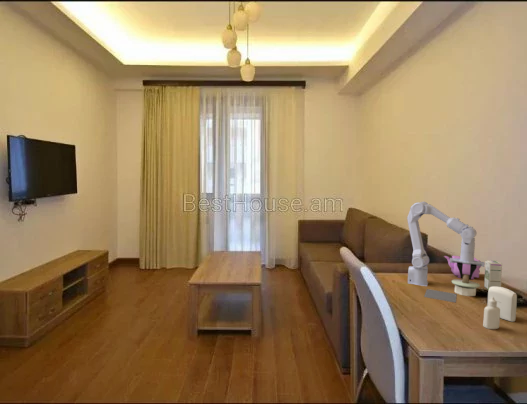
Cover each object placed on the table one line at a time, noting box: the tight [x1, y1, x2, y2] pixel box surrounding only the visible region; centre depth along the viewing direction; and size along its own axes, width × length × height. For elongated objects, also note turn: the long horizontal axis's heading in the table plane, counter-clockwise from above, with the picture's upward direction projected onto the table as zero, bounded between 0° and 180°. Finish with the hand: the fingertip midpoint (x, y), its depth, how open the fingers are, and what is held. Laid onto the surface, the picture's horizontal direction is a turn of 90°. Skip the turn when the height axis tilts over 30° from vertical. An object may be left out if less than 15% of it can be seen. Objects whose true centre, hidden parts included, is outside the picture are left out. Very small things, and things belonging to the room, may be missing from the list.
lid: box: [451, 274, 481, 289], centre depth 166 cm, size 12×12×5 cm
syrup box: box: [483, 259, 503, 291], centre depth 173 cm, size 6×6×14 cm
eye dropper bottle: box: [482, 297, 501, 330], centre depth 129 cm, size 4×6×12 cm
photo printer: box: [486, 286, 518, 322], centre depth 139 cm, size 10×4×12 cm, turn 26°
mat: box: [423, 288, 458, 303], centre depth 162 cm, size 13×13×1 cm
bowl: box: [454, 284, 477, 297], centre depth 166 cm, size 9×9×4 cm
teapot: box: [443, 255, 482, 280], centre depth 195 cm, size 20×10×12 cm, turn 72°
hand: (465, 278), depth 166 cm, fingers closed on lid, 3 cm apart
